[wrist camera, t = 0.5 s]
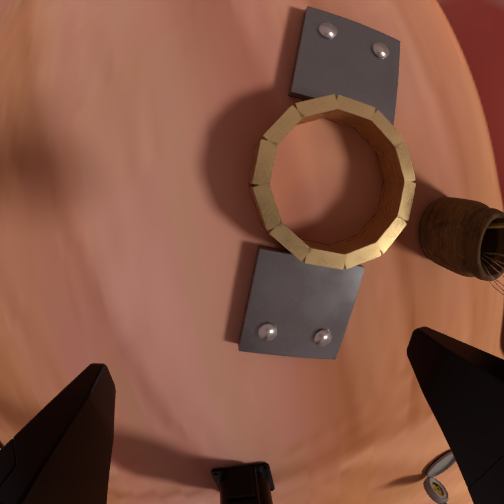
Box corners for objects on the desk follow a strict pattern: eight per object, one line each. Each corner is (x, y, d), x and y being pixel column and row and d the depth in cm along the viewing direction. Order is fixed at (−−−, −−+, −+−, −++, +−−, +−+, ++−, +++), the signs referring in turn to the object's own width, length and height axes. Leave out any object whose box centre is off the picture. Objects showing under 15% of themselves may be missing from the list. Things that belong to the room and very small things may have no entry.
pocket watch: (463, 443, 32) (490, 478, 22) (443, 472, 34) (465, 506, 24) (428, 458, 31) (455, 500, 21) (408, 486, 33) (429, 525, 23)
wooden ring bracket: (346, 354, 24) (359, 373, 21) (219, 341, 23) (218, 362, 20) (408, 52, 18) (427, 41, 15) (285, 7, 17) (293, -13, 14)
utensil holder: (405, 240, 22) (516, 286, 10) (439, 179, 21) (552, 190, 9) (442, 274, 23) (537, 327, 12) (472, 218, 22) (571, 246, 11)
